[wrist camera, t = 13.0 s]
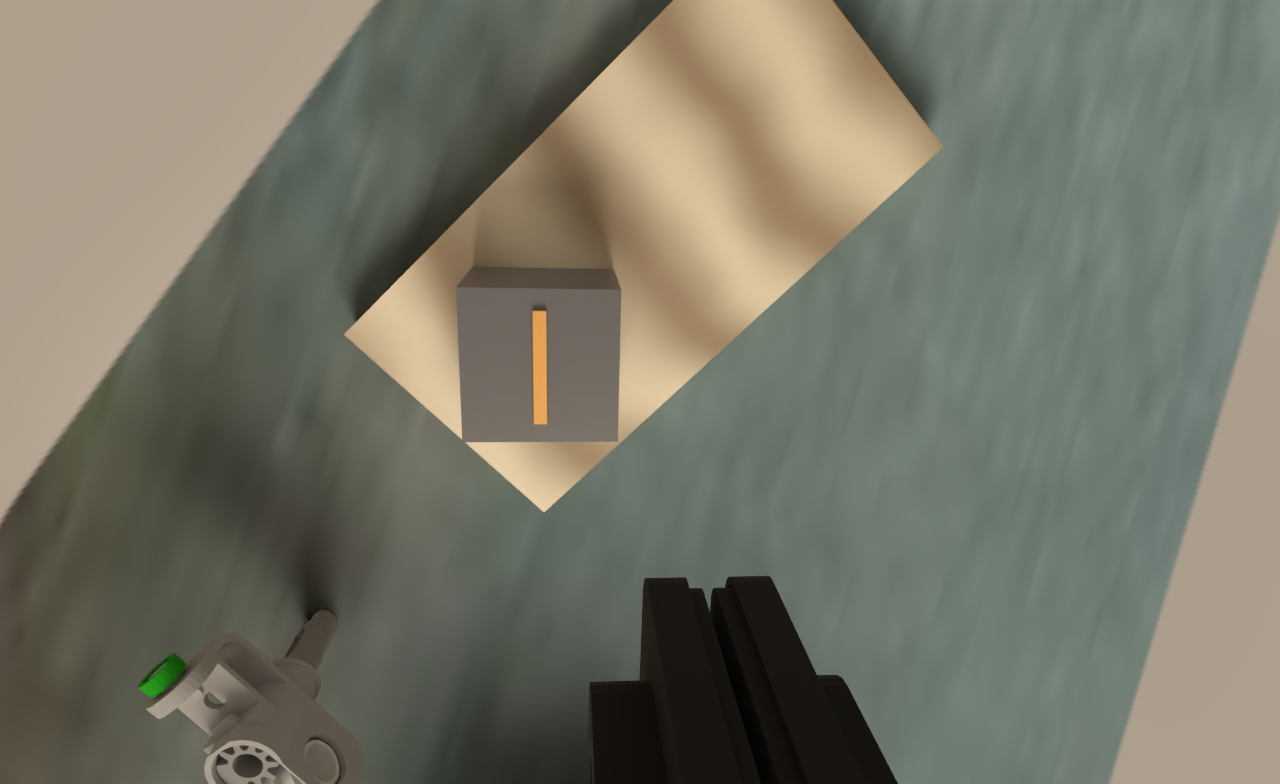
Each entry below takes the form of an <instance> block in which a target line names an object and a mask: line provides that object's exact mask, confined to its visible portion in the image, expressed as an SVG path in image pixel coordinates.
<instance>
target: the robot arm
mask: <svg viewBox="0 0 1280 784" xmlns="http://www.w3.org/2000/svg"><path fill="white" fill-rule="evenodd" d="M588 768H589V784H898V783H897V781H896V779H895V777H894V775H893V773H892V772H891V770H890V768H889V766H888V764H887V762H886V760H885V758H884V756H883V754H882V752H881V750H880V748H879V746H878V744H877V742H876V740H875V739H874V737H873V735H872V733H871V731H870V729H869V727H868V725H867V723H866V721H865V719H864V717H863V715H862V713H861V711H860V709H859V707H858V705H857V704H856V702H855V700H854V698H853V696H852V694H851V692H850V690H849V688H848V686H847V685H846V683H845V682H844V680H843V679H842V678H841V677H839V676H838V675H817V674H816V672H815V670H814V668H813V666H812V664H811V662H810V660H809V657H808V655H807V653H806V651H805V649H804V647H803V645H802V642H801V640H800V638H799V636H798V634H797V632H796V630H795V627H794V625H793V623H792V621H791V619H790V617H789V615H788V612H787V610H786V608H785V606H784V604H783V602H782V600H781V597H780V595H779V593H778V591H777V589H776V587H775V585H774V583H773V580H772V579H771V577H769V576H744V577H728V579H727V581H726V585H725V588H713V590H712V595H711V607H710V612H709V609H708V605H707V602H706V599H705V595H704V592H703V590H702V588H689V585H688V582H687V579H686V578H645V580H644V586H643V607H642V634H641V660H640V681H612V682H590V686H589V737H588Z"/></svg>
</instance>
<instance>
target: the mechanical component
mask: <svg viewBox="0 0 1280 784" xmlns="http://www.w3.org/2000/svg"><path fill="white" fill-rule="evenodd" d="M337 625H338V624H337V619H336V617H335V616H334V615H333V614H332V613H331V612H329V611H327V610H320V611H318V612H316V613H315V614H314V615H313V617H312V618H311V620H310V621H309V620H307V619H305V621H304V623H303V625H302V626H301V628H300V630H299V632H298V634H297V635H296V637H295V639H294V641H293V643H292V645H291V646H290V648H289V650H288V652H287V654H286V655H285V657H284V658H283V659H279V660H276V661H274V662H271V661H270V660H269V659H267V658H266V657H265V656H264V655H263V654H262V653H261V652H260V651H259V650H258V649H256V648H255V647H254V646H253V645H252V644H251V643H250V642H249V641H247V640H246V639H245V638H243V637H241V636H239V635H236V634H224V635H221V636H220V637H218V638H217V639H215V640H214V641H213V642H211V643H210V644H209V645H207V646H206V647H205V648H203V649H202V650H201V651H199V652H198V653H197V654H195V655H194V656H192V657H191V658H190V659H188V660H187V661H186V662H184V661H183V660H182V659H181V658H179V657H178V656H177V655H176V654H175V653H173V654H171V655H169V656H168V657H166V658H165V659H164V660H162V661H161V662H160V663H159V664H158V665H157V666H156V667H154V668H153V669H152V670H151V671H150V672H149V673H148V674H147V675H146V677H145V678H144V679H143V680H142V681H141V683H140V684H139V686H138V688H139V689H141V690H142V691H143V692H144V693H145V694H147V695H148V696H149V697H150V699H149V701H148V702H147V704H146V706H145V709H147V710H148V711H149V712H150V713H151V714H153V715H154V716H155V717H156V718H158V719H160V718H163V717H165V716H166V715H168V714H169V713H170V712H172V711H173V710H175V709H176V708H178V709H179V710H181V711H182V712H183V713H184V714H185V715H187V716H188V717H189V718H190V719H191V720H192V721H194V722H195V723H196V724H197V725H198V726H200V727H201V728H202V729H203V730H204V731H206V732H207V733H208V734H209V735H210V736H211V738H210V740H209V741H208V743H207V745H206V746H205V748H204V750H203V751H205V752H206V753H207V754H208V755H209V756H208V757H207V759H206V763H205V776H206V779H207V781H208V783H209V784H358V782H359V779H360V776H361V772H362V769H363V755H362V751H361V748H360V746H359V744H358V742H357V741H356V739H355V738H354V737H353V736H352V734H351V733H350V732H348V731H347V730H346V729H345V728H344V727H343V726H342V725H341V724H340V723H338V722H337V721H336V720H335V719H334V718H333V717H332V716H331V715H330V714H328V713H327V712H326V711H325V710H324V709H323V708H322V707H321V706H320V705H318V704H317V703H316V702H315V701H314V699H315V698H316V697H317V695H318V693H319V690H320V686H321V683H320V677H319V675H318V673H317V671H316V670H317V668H318V666H319V664H320V662H321V660H322V658H323V656H324V654H325V651H326V649H327V647H328V645H329V643H330V641H331V639H332V637H333V635H334V633H335V630H336V628H337ZM209 692H211V693H212V694H213V695H214V696H215V697H217V698H218V699H219V700H220V701H221V702H222V703H223V704H214V703H212V702H210V701H209V700H208V698H207V693H209Z"/></svg>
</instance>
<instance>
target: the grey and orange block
mask: <svg viewBox="0 0 1280 784" xmlns="http://www.w3.org/2000/svg"><path fill="white" fill-rule="evenodd" d="M456 300H457V325H458V349H459V374H460V398H461V423H462V442H618V416H619V371H620V327H621V287H620V285H619V282H618V279H617V276H616V274H615V271H614V269H570V268H509V267H472V268H471V269H470V270H469V271H468V273H467V274H466V275H465V277H464V278H463V279H462V280H461V282H460V283H459V284H458V285H457V287H456Z"/></svg>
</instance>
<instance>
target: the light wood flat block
mask: <svg viewBox="0 0 1280 784" xmlns="http://www.w3.org/2000/svg"><path fill="white" fill-rule="evenodd" d="M942 148H943V146H942V145H941V143H940V142H939V141H938V139H937V138H936V137H935V135H934V134H933V133H932V132H931V130H930V129H929V128H928V126H927V125H926V124H925V122H924V121H923V120H922V118H921V117H920V116H919V114H918V113H917V112H916V110H915V109H914V108H913V106H912V105H911V104H910V102H909V101H908V100H907V98H906V97H905V96H904V94H903V93H902V92H901V90H900V89H899V88H898V86H897V85H896V84H895V82H894V81H893V80H892V78H891V77H890V76H889V74H888V73H887V72H886V70H885V69H884V68H883V66H882V65H881V64H880V62H879V61H878V60H877V59H876V57H875V56H874V55H873V53H872V52H871V51H870V49H869V48H868V47H867V45H866V44H865V43H864V41H863V40H862V39H861V37H860V36H859V35H858V33H857V32H856V31H855V29H854V28H853V27H852V25H851V24H850V23H849V21H848V20H847V19H846V17H845V16H844V15H843V13H842V12H841V11H840V9H839V8H838V7H837V5H836V4H835V3H834V1H833V0H673V1H672V2H671V3H670V4H669V5H668V6H667V7H666V8H665V9H664V10H663V11H662V12H661V13H660V14H659V15H658V16H657V17H656V18H655V19H654V20H653V21H652V22H651V23H650V24H649V25H648V26H647V27H646V28H645V29H644V30H643V31H642V32H641V33H640V34H639V35H638V36H637V37H636V38H635V39H634V41H633V42H632V43H631V44H630V45H629V46H628V47H627V48H626V49H625V50H624V51H623V52H622V53H621V54H620V55H619V56H618V57H617V58H616V59H615V60H614V61H613V62H612V63H611V64H610V65H609V66H608V67H607V68H606V69H605V70H604V71H603V72H602V73H601V74H600V75H599V76H598V77H597V78H596V79H595V80H594V81H593V82H592V83H591V84H590V85H589V86H588V87H587V88H586V89H585V90H584V91H583V92H582V93H581V94H580V95H579V96H578V97H577V98H576V99H575V100H574V101H573V102H572V103H571V104H570V105H569V107H568V108H567V109H566V110H565V111H564V112H563V113H562V114H561V115H560V116H559V117H558V118H557V119H556V120H555V121H554V122H553V123H552V124H551V125H550V126H549V127H548V128H547V129H546V130H545V131H544V132H543V133H542V134H541V135H540V136H539V137H538V138H537V139H536V140H535V141H534V142H533V143H532V144H531V145H530V146H529V147H528V148H527V149H526V150H525V151H524V152H523V153H522V154H521V155H520V156H519V157H518V158H517V159H516V160H515V161H514V162H513V163H512V164H511V165H510V166H509V167H508V168H507V169H506V170H505V171H504V173H503V174H502V175H501V176H500V177H499V178H498V179H497V180H496V181H495V182H494V183H493V184H492V185H491V186H490V187H489V188H488V189H487V190H486V191H485V192H484V193H483V194H482V195H481V196H480V197H479V198H478V199H477V200H476V201H475V202H474V203H473V204H472V205H471V206H470V207H469V208H468V209H467V210H466V211H465V212H464V213H463V214H462V215H461V216H460V217H459V218H458V219H457V220H456V221H455V222H454V223H453V224H452V225H451V226H450V227H449V228H448V229H447V230H446V231H445V232H444V233H443V234H442V235H441V236H440V237H439V239H438V240H437V241H436V242H435V243H434V244H433V245H432V246H431V247H430V248H429V249H428V250H427V251H426V252H425V253H424V254H423V255H422V256H421V257H420V258H419V259H418V260H417V261H416V262H415V263H414V264H413V265H412V266H411V267H410V268H409V269H408V270H407V271H406V272H405V273H404V274H403V275H402V276H401V277H400V278H399V279H398V280H397V281H396V282H395V283H394V284H393V285H392V286H391V287H390V288H389V289H388V290H387V291H386V292H385V293H384V294H383V295H382V296H381V297H380V298H379V299H378V300H377V301H376V302H375V303H374V304H373V306H372V307H371V308H370V309H369V310H368V311H367V312H366V313H365V314H364V315H363V316H362V317H361V318H360V319H359V320H358V321H357V322H356V323H355V324H354V325H353V326H352V327H351V328H350V329H349V330H348V331H347V332H346V333H345V334H344V335H345V336H346V337H347V338H348V339H350V340H351V341H352V342H353V343H354V344H355V345H356V346H357V347H359V348H360V349H361V350H362V351H363V352H364V353H365V354H366V355H368V356H369V357H370V358H371V359H372V360H373V361H374V362H375V363H377V364H378V365H379V366H380V367H381V368H382V369H383V370H384V371H386V372H387V373H388V374H389V375H390V376H391V377H392V378H393V379H395V380H396V381H397V382H398V383H399V384H400V385H401V386H402V387H404V388H405V389H406V390H407V391H408V392H409V393H410V394H411V395H413V396H414V397H415V398H416V399H417V400H418V401H419V402H420V403H422V404H423V405H424V406H425V407H426V408H427V409H428V410H429V411H431V412H432V413H433V414H434V415H435V416H436V417H437V418H438V419H440V420H441V421H442V422H443V423H444V424H445V425H446V426H447V427H449V428H450V429H451V430H452V431H453V432H454V433H455V434H456V435H458V436H459V437H460V438H461V439H462V423H461V398H460V374H459V349H458V325H457V300H456V287H457V285H458V284H459V283H460V282H461V280H462V279H463V278H464V277H465V275H466V274H467V273H468V271H469V270H470V269H471V268H472V267H509V268H570V269H614V271H615V274H616V276H617V279H618V282H619V285H620V287H621V327H620V371H619V416H618V442H465V443H467V444H468V445H469V446H470V447H471V448H472V449H473V450H474V451H476V452H477V453H478V454H479V455H480V456H481V457H482V458H483V459H485V460H486V461H487V462H488V463H489V464H490V465H491V466H492V467H494V468H495V469H496V470H497V471H498V472H499V473H500V474H501V475H503V476H504V477H505V478H506V479H507V480H508V481H509V482H510V483H512V484H513V485H514V486H515V487H516V488H517V489H518V490H519V491H521V492H522V493H523V494H524V495H525V496H526V497H527V498H528V499H530V500H531V501H532V502H533V503H534V504H535V505H536V506H537V507H539V508H540V509H541V510H542V511H543V512H545V511H546V510H547V509H548V508H549V507H551V506H552V505H553V504H554V503H555V502H556V501H557V500H558V499H559V498H560V497H562V496H563V495H564V494H565V493H566V492H567V491H568V490H569V489H570V488H571V487H572V486H574V485H575V484H576V483H577V482H578V481H579V480H580V479H581V478H582V477H583V476H584V475H586V474H587V473H588V472H589V471H590V470H591V469H592V468H593V467H594V466H595V465H596V464H598V463H599V462H600V461H601V460H602V459H603V458H604V457H605V456H606V455H607V454H608V453H610V452H611V451H612V450H613V449H614V448H615V447H616V446H617V445H618V444H619V443H620V442H622V441H623V440H624V439H625V438H626V437H627V436H628V435H629V434H630V433H631V432H632V431H634V430H635V429H636V428H637V427H638V426H639V425H640V424H641V423H642V422H643V421H645V420H646V419H647V418H648V417H649V416H650V415H651V414H652V413H653V412H654V411H655V410H657V409H658V408H659V407H660V406H661V405H662V404H663V403H664V402H665V401H666V400H667V399H669V398H670V397H671V396H672V395H673V394H674V393H675V392H676V391H677V390H678V389H679V388H681V387H682V386H683V385H684V384H685V383H686V382H687V381H688V380H689V379H690V378H691V377H693V376H694V375H695V374H696V373H697V372H698V371H699V370H700V369H701V368H702V367H703V366H705V365H706V364H707V363H708V362H709V361H710V360H711V359H712V358H713V357H714V356H715V355H717V354H718V353H719V352H720V351H721V350H722V349H723V348H724V347H725V346H726V345H727V344H729V343H730V342H731V341H732V340H733V339H734V338H735V337H736V336H737V335H738V334H740V333H741V332H742V331H743V330H744V329H745V328H746V327H747V326H748V325H749V324H750V323H752V322H753V321H754V320H755V319H756V318H757V317H758V316H759V315H760V314H761V313H762V312H764V311H765V310H766V309H767V308H768V307H769V306H770V305H771V304H772V303H773V302H774V301H776V300H777V299H778V298H779V297H780V296H781V295H782V294H783V293H784V292H785V291H786V290H788V289H789V288H790V287H791V286H792V285H793V284H794V283H795V282H796V281H797V280H798V279H800V278H801V277H802V276H803V275H804V274H805V273H806V272H807V271H808V270H809V269H810V268H812V267H813V266H814V265H815V264H816V263H817V262H818V261H819V260H820V259H821V258H822V257H824V256H825V255H826V254H827V253H828V252H829V251H830V250H831V249H832V248H833V247H835V246H836V245H837V244H838V243H839V242H840V241H841V240H842V239H843V238H844V237H845V236H847V235H848V234H849V233H850V232H851V231H852V230H853V229H854V228H855V227H856V226H857V225H859V224H860V223H861V222H862V221H863V220H864V219H865V218H866V217H867V216H868V215H869V214H871V213H872V212H873V211H874V210H875V209H876V208H877V207H878V206H879V205H880V204H881V203H883V202H884V201H885V200H886V199H887V198H888V197H889V196H890V195H891V194H892V193H893V192H895V191H896V190H897V189H898V188H899V187H900V186H901V185H902V184H903V183H904V182H905V181H907V180H908V179H909V178H910V177H911V176H912V175H913V174H914V173H915V172H916V171H918V170H919V169H920V168H921V167H922V166H923V165H924V164H925V163H926V162H927V161H928V160H930V159H931V158H932V157H933V156H934V155H935V154H936V153H937V152H938V151H939V150H940V149H942Z"/></svg>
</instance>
